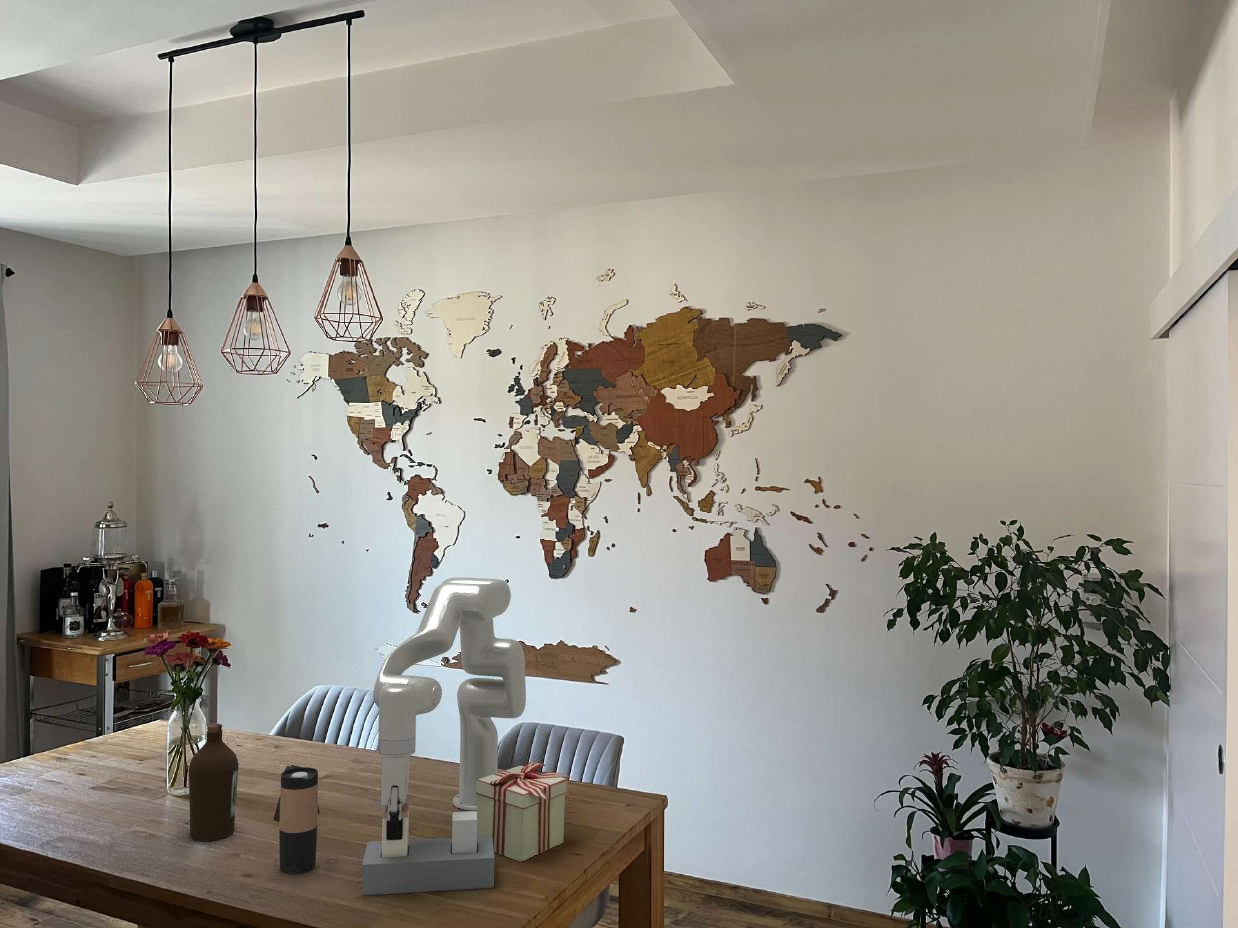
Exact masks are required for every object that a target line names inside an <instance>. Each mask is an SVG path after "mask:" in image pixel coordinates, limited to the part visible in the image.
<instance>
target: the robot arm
mask: <svg viewBox="0 0 1238 928" xmlns="http://www.w3.org/2000/svg"><path fill="white" fill-rule="evenodd" d="M511 597H512V593H511V589H510V586H509V584H508V582H506V581H505V580H503V579H497V578H478V577H449V578H446V579H444V581H442V583H441V584H439V585H438V586H436V588H435V589H434V590H433V592H432V594H431V597H430V599H429V602H428V604H427V607H426V609H425V612H424V614H423V617H422V620H421V621H420V624H419V626H418V629H417V631H416V633H415V634H413V635H412V636H409V638H407V639H405V640H404V641H403V642H401V643H400V644H398V645H397V646H396V647H395V648H394V649H393V650H392V651H391V652H390V653H389V654H388V655H387V657H386V658H385V659H384V661H383V664H382V665H381V668H380V670H379V672H378V675H377V677H376V679H375V680H376V681H375V683H374V686H373V694H372V697H373V702H374V704H375V706H376V707H377V708H378V733H377V734H378V737H377V740H378V741H377V755H378V756H380V757H382V763H381V784H380V785H381V788H380V789H381V792H380V793H381V795H380V806H381V807H384V805H387V804H388V820H387V825H386V839H387V840H401V839H402V838H403V819H402V806H403V805H404V804H405V803H406V800H407V794H408V789H409V777H410V756H412V755H414V754H415V753H416V739H417V738H416V736H417V733H416V731H417V716H418V715H424V714H428V713H430V712H432V711H434V710H435V709H436V708H437V707H438V706H439V704H440V703H441V699H442V695H443V689H442V686H441V684H440V682H439V681H438V680H436V679H435V678H433V677H428V676H415V675H406V674H405V675H404V673H405V671H407V670H408V669H410V668H411V667H412V666H414V665H416V664H418V663H420V662H424V661H427V660H430V659H433V658H435V657H438V656H441V655H444V654H445V653H447V652H448V651H450V650H451V649H452V648H453V646H454V645H453V644H454V643H455V640H456V636H457V634H458V630H459V639H460V641H459V642H460V658H461V666H462V668H463V671H464V672H465V673H467V674H469V675H473V676H479V677H471V678H468V679H466V680H465V679H464V680H463V681H462V682H461V683H460V685H459V686H458V689H457V693H456V699H457V700H456V701H457V707H458V715H459V729H460V730H459V731H460V734H459V735H460V738H459V739H460V740H459V741H460V742H459V785H458V786H459V788H458V789H459V791H458V794H456V795H455V796H454V797H453V799H452V805H454V807H455V808H457V809H459V808H460V809H461V810H463V811H477V794H476V780H478V779H481V778H484V777H487V776H490V775H493V774H496V773H498V753H499V752H498V750H499V749H498V748H499V747H498V746H499V745H498V744H499V743H498V742H499V734H498V729H497V727H496V724H495V723H494V721H493V719H494V718H495V719H496V718H497V719H499V718H500V719H517V718H519V717H521V716H522V715H523V713H524V712H525V709H526V705H527V704H526V701H527V688H526V687H527V686H526V683H527V682H526V665H525V663H526V661H525V653H524V649H523V645H522V644H521V643H520V642H519V641H518V640H515V639H512V638H501V637H499V638H498V637H497V636H495V629H494V627H495V626H494V618H496V617H497V616H500V615H503V614H504V612H506V611H507V610H508V608H509V606H510V604H511V603H510V602H511ZM480 676H483V677H480ZM489 677H490V678H489ZM491 677H496V678H491ZM500 678H501V679H500ZM492 718H493V719H492ZM397 807H399V810H397Z"/></svg>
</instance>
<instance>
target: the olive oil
mask: <svg viewBox="0 0 1238 928" xmlns="http://www.w3.org/2000/svg"><path fill="white" fill-rule="evenodd" d="M222 728H223V724H222V723H210V724H208V725H207V727H206V729H207V730H206V741H205V743H204V744H203V745H202V746H201V747H200V748H199V749H198V751H197V752H196V753H194V755H193V756H192V758H191V760H190V762H189V765H188V769H187V770H188V771H187V772H188V793H189V795H188V796H189V798H188V799H189V837H190V839H191V840H193V841H197V842H213V841H214V842H215V841H219V840H223V839H227V838H228V837H230V836H231V835H233V833H234V832H235V826H236V825H235V824H236V822H235V820H236V809H237V796H238V795H237V792H238V778H239V766H240V765H239V760H238V757H237V753H235V751H234V750H233V749H231V747H229V746H228V745H227V744H226V743H225V742H224V741H223V729H222Z"/></svg>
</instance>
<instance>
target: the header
mask: <svg viewBox="0 0 1238 928" xmlns="http://www.w3.org/2000/svg"><path fill="white" fill-rule="evenodd" d="M451 817H452V818H451V819H452V824H451V825H452V829H451V830H452V831H451V837H435V838H417V839H416V838H415V839H413V838H412V839H408V856H399V857H382V840H377V841H375V840H374V841H367V843H366V847H365V852H364V856H363V859H362V865H361V896H371V895H373V896H374V895H389V894H406V893H408V894H409V893H424V892H425V893H426V892H440V891H442V892H443V891H455V890H456V891H459V890H472V889H473V890H475V889H491V888H493V889H494V888H495V852H494V849H493V839H492V836H477V811H470V810H467V811H453V812H452V816H451Z"/></svg>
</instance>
